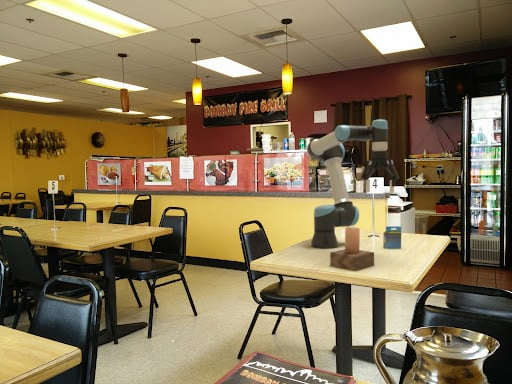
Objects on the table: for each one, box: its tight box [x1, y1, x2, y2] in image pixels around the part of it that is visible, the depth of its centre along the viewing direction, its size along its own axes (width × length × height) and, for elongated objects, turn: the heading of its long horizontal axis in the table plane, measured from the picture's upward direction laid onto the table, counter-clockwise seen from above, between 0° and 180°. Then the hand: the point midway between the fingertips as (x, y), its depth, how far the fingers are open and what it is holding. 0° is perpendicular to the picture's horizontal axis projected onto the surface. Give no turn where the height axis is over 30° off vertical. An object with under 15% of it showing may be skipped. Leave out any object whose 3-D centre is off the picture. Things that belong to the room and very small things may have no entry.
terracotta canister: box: [344, 226, 361, 254], centre depth 188 cm, size 6×6×11 cm
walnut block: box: [329, 248, 375, 272], centre depth 188 cm, size 14×14×6 cm
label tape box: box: [383, 225, 402, 249], centre depth 230 cm, size 9×4×12 cm, turn 92°
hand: (379, 192), depth 210 cm, fingers open, 13 cm apart
